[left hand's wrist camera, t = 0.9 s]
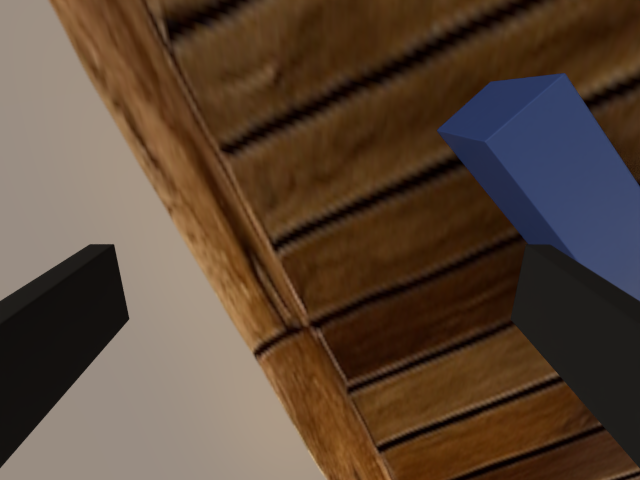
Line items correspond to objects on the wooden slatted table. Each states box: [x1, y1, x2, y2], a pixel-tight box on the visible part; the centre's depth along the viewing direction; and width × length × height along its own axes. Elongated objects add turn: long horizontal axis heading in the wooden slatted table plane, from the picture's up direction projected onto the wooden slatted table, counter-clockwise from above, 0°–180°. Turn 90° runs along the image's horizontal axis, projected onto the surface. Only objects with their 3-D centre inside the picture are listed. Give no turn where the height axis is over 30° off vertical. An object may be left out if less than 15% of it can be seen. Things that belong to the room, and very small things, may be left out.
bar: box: [437, 73, 640, 301], centre depth 28 cm, size 28×5×9 cm, turn 44°
